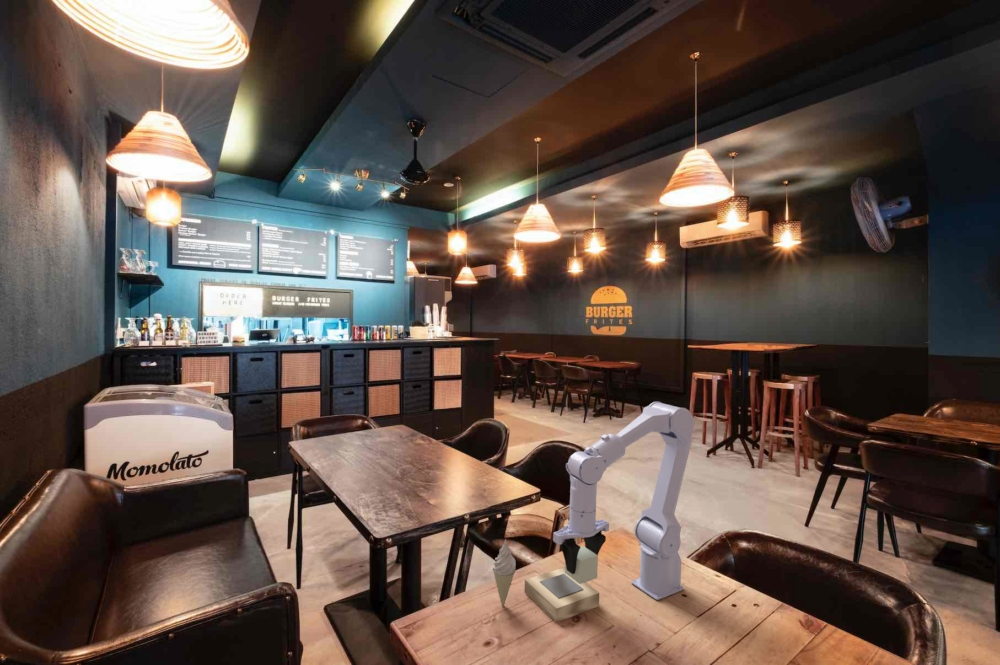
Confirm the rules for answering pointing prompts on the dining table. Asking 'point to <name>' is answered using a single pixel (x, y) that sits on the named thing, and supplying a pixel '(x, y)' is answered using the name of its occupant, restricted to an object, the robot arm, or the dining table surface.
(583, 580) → the sage cube
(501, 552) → the ice cream cone
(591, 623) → the dining table surface
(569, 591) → the birch pedestal
